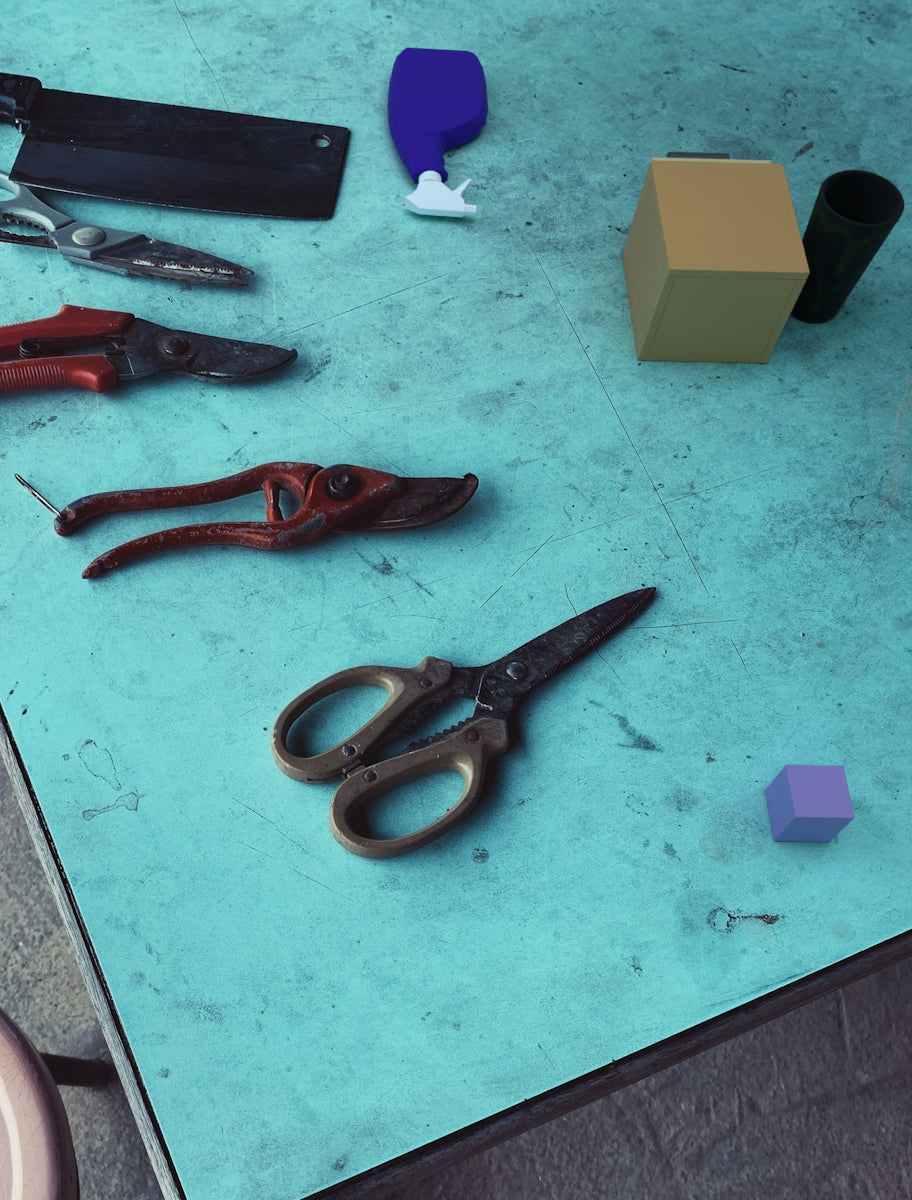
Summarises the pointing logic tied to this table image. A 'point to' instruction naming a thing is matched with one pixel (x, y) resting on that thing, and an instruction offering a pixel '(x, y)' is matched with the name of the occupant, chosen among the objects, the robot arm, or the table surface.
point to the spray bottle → (435, 121)
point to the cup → (844, 239)
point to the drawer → (704, 157)
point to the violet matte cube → (809, 803)
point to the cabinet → (713, 261)
